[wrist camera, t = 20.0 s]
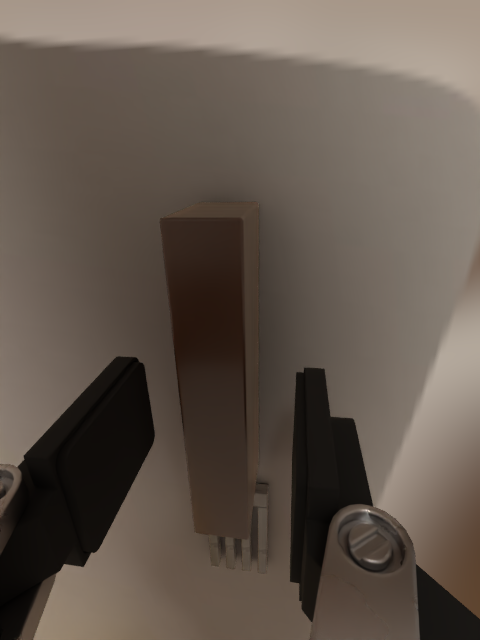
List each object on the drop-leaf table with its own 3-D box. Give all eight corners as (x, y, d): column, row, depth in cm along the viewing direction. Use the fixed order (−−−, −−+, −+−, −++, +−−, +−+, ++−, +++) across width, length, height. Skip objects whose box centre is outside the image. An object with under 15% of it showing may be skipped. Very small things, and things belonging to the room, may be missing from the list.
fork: (213, 555, 17) (196, 636, 14) (184, 202, 10) (139, 218, 7) (267, 563, 17) (260, 647, 14) (273, 201, 10) (263, 217, 7)
